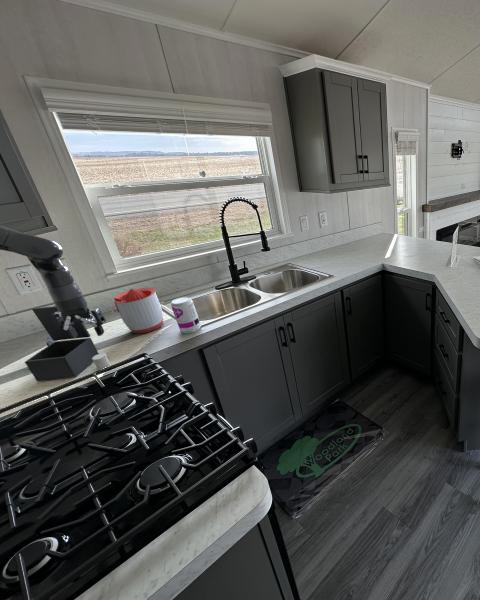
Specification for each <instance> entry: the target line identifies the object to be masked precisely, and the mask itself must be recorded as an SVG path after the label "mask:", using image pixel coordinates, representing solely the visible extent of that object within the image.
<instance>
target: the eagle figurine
mask: <svg viewBox="0 0 480 600" xmlns="http://www.w3.org/2000/svg"><path fill="white" fill-rule="evenodd" d="M53 342H54V341H53V340H52V338H51V337H50V336H48V337H46V345H47V346H49V345H50V344H52V343H53ZM47 346H46V347H47Z"/></svg>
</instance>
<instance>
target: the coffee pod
mask: <svg viewBox="0 0 480 600" xmlns="http://www.w3.org/2000/svg"><path fill="white" fill-rule="evenodd" d="M92 360H93V363H94V365H95V367H96V369H97V371H102V370H101V369H103V368H105V367H108V366H110V365H111V366H112V364H111V362H110V360H109V358H108V355H107V354H106V353H105V352H104V353H103V352H102V353H99V354H98V355H96V356H94V357H93V358H92ZM111 366H110V367H111Z"/></svg>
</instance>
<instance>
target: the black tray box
mask: <svg viewBox="0 0 480 600" xmlns="http://www.w3.org/2000/svg"><path fill="white" fill-rule="evenodd" d="M98 354H100V353H99V352H98V349H97V347H96V345H95V343H94V341H93V340H92V338H91V337H87V338H77V339H67V340H57V341H53V343H52V344H50V345H49V346H45V348H43V349H41V350H40V351H39V352H37V353H36V354H34V355H32V356H31V357H30V358H28V359H26V360H25V361H24V364H25V365H26V366H27V368H28V370H29V371H30V373H31V374H32V376H33V378H34V379H35V380H36V382H46V381H56V380H65V379H72V378H77V377H78V376H79V375H81V374H82V373H83V372H84V371H85V370H86V369H87V368H88V367H89V366H91V365H92V364H93V363H94V362H93V360H92V358H93V357H94V356H96V355H98Z"/></svg>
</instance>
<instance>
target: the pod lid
mask: <svg viewBox="0 0 480 600" xmlns="http://www.w3.org/2000/svg"><path fill="white" fill-rule="evenodd" d="M31 310H32V312H33V313H34V315H35V316H36V317H37V319H38V320H39V322H40V323H41V325H42V326H43V328H44V329H45V331H46V332H47V334H48V335H49V338H51V339H52V341H53V342H55V341H63V340H73V339H83V338H91V334H90V332H89V330H88V329H87V327H86V326H85V324H84V322H83V323H80V322H78V323H74V324H73V326H72V327H74V329H75V330H76V332H77V334H78V336H77V337H76V338H73V339H72V338H71V337H70V336H69V335H68V333H67V331H66V330H64V329H58V328H57V327H56V325H55V323H54V320H53V318H52V316H51V315H52V314H54V313H55V312H57V311H58V309H57V307H56V305H55V304H53V305H52V306H43V307H33V308H32V309H31ZM63 319H64V321H66V319H65V318H64V317H63Z"/></svg>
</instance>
